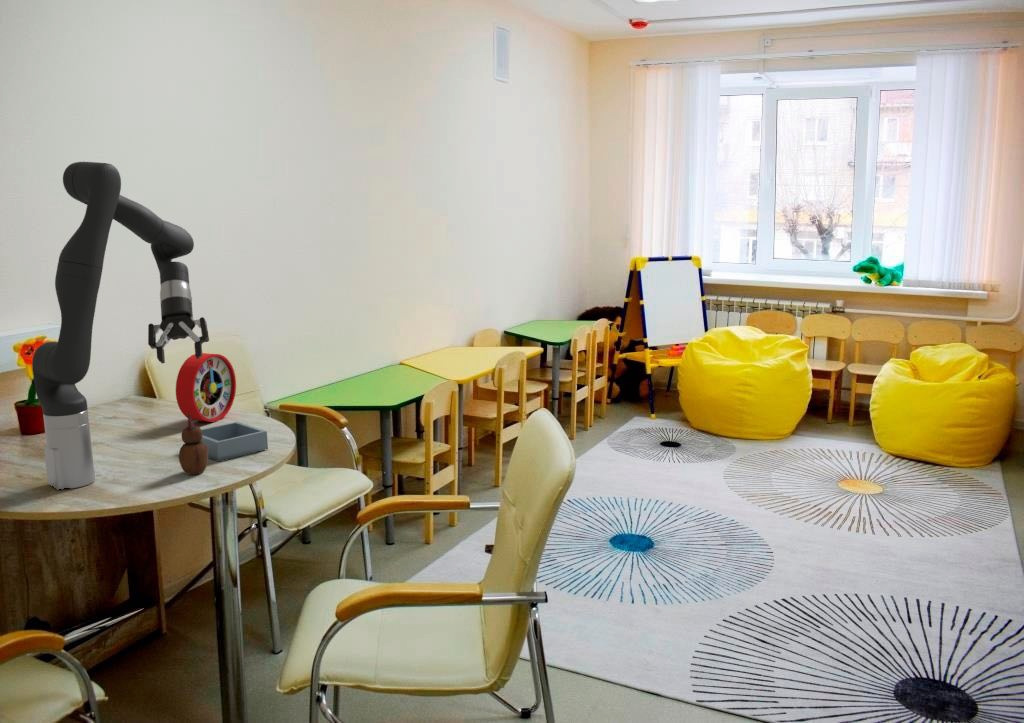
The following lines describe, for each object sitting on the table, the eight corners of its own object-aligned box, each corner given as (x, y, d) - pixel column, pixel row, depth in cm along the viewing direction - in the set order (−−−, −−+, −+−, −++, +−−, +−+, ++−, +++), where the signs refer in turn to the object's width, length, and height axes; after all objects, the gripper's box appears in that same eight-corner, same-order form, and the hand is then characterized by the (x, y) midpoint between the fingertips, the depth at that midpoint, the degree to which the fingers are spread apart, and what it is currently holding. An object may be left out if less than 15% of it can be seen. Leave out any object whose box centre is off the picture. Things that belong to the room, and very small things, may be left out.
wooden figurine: (198, 477, 211) (193, 415, 208) (176, 476, 212) (171, 415, 209) (213, 468, 217) (208, 409, 214) (192, 467, 218) (186, 408, 216)
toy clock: (195, 429, 253) (189, 360, 250) (178, 428, 255) (172, 359, 251) (238, 412, 272) (233, 348, 268) (222, 411, 274) (217, 347, 270)
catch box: (218, 461, 223) (217, 442, 222) (190, 450, 233) (188, 432, 232) (268, 449, 233) (266, 431, 232) (238, 439, 243) (237, 421, 242)
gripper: (143, 299, 224) (146, 358, 218) (201, 291, 226) (206, 350, 221) (151, 311, 230) (154, 369, 225) (207, 304, 233) (212, 361, 228)
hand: (180, 360), depth 223 cm, fingers open, 8 cm apart
